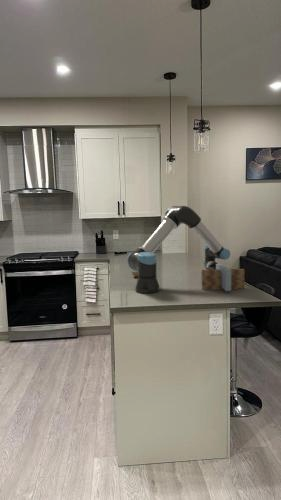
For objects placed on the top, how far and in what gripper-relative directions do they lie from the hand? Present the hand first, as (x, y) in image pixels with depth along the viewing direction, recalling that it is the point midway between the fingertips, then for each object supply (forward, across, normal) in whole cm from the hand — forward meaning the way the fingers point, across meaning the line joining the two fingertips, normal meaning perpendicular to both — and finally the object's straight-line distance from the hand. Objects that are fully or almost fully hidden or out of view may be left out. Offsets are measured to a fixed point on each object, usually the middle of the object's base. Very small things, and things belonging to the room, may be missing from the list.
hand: (222, 274), depth 197 cm
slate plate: (+3, 0, -7) cm, 7 cm away
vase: (-38, +53, -9) cm, 66 cm away
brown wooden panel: (+3, 0, -9) cm, 9 cm away
